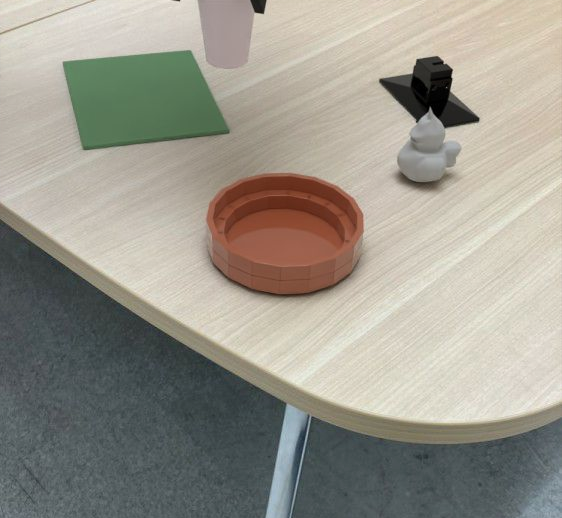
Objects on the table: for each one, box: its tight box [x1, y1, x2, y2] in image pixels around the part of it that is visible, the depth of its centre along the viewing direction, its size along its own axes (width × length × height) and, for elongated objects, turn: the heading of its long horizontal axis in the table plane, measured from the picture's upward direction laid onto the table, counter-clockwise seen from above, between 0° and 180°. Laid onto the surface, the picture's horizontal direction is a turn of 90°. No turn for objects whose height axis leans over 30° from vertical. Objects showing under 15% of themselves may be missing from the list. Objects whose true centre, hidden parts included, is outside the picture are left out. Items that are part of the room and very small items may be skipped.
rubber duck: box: [396, 107, 462, 183], centre depth 80 cm, size 5×7×8 cm
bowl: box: [205, 172, 365, 295], centre depth 73 cm, size 14×14×4 cm
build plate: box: [378, 55, 481, 129], centre depth 93 cm, size 12×7×5 cm, turn 22°
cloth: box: [62, 49, 230, 150], centre depth 92 cm, size 16×20×1 cm
